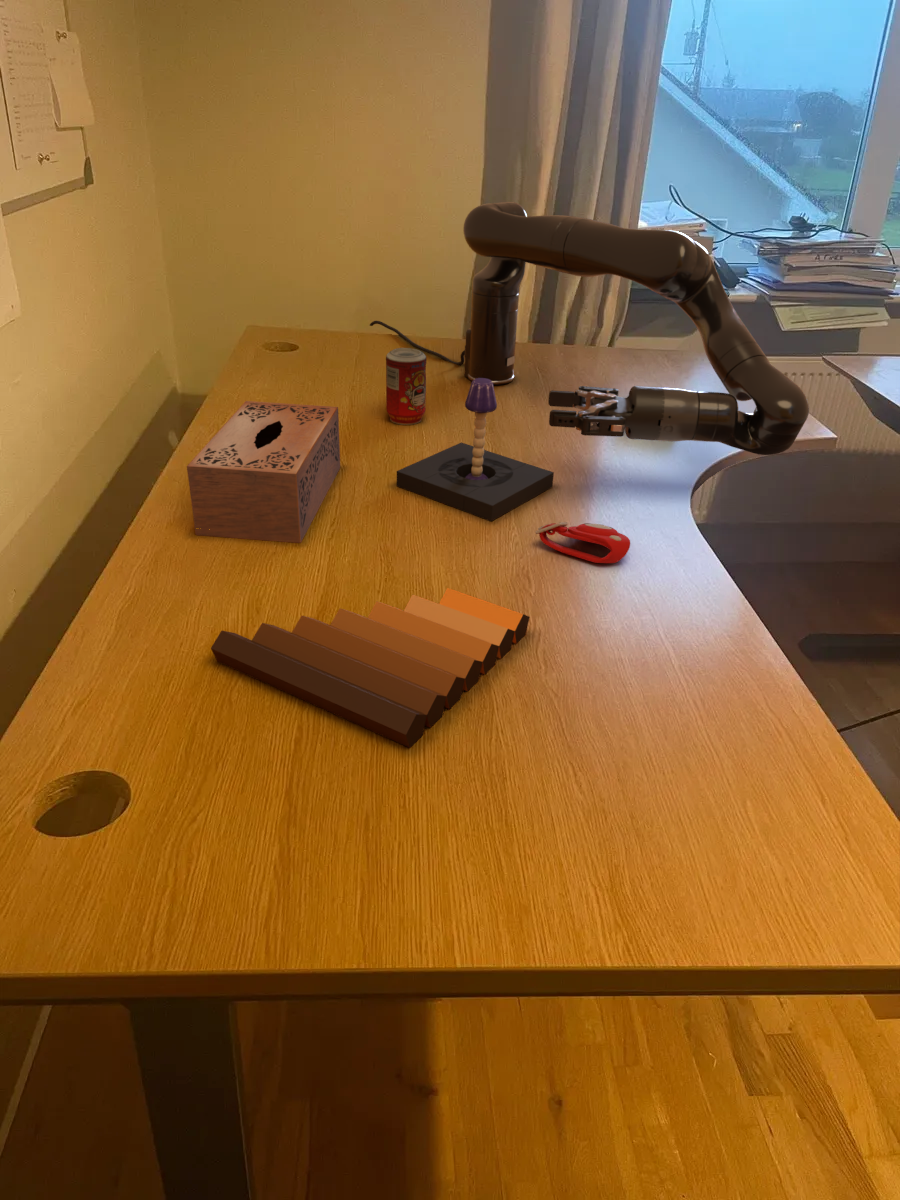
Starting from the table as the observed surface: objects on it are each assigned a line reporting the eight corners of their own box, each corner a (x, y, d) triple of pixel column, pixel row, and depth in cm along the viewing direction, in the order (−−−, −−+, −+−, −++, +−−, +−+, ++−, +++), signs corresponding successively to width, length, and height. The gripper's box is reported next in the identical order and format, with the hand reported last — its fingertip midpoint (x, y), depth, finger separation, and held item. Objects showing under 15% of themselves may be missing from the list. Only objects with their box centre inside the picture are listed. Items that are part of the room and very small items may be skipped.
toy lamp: (498, 488, 136) (505, 381, 127) (474, 495, 134) (480, 387, 125) (478, 477, 139) (483, 373, 131) (454, 484, 137) (458, 378, 128)
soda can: (410, 429, 156) (410, 359, 150) (378, 420, 160) (377, 352, 153) (433, 418, 161) (434, 350, 155) (402, 410, 165) (402, 343, 158)
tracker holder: (604, 520, 125) (649, 534, 117) (599, 551, 126) (643, 567, 118) (531, 514, 120) (573, 529, 111) (526, 547, 121) (567, 563, 112)
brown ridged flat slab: (212, 664, 95) (405, 751, 84) (209, 638, 93) (405, 724, 82) (354, 570, 113) (528, 632, 102) (354, 546, 112) (530, 607, 101)
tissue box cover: (251, 461, 142) (245, 400, 137) (340, 467, 141) (338, 407, 136) (195, 535, 120) (186, 466, 115) (300, 543, 119) (296, 473, 114)
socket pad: (396, 486, 136) (396, 471, 134) (460, 456, 147) (461, 442, 145) (491, 521, 126) (492, 505, 125) (552, 487, 137) (554, 472, 136)
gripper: (659, 373, 132) (550, 367, 133) (672, 405, 120) (552, 398, 121) (651, 421, 136) (545, 415, 137) (663, 457, 124) (547, 450, 125)
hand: (549, 407), depth 129 cm, fingers open, 8 cm apart
